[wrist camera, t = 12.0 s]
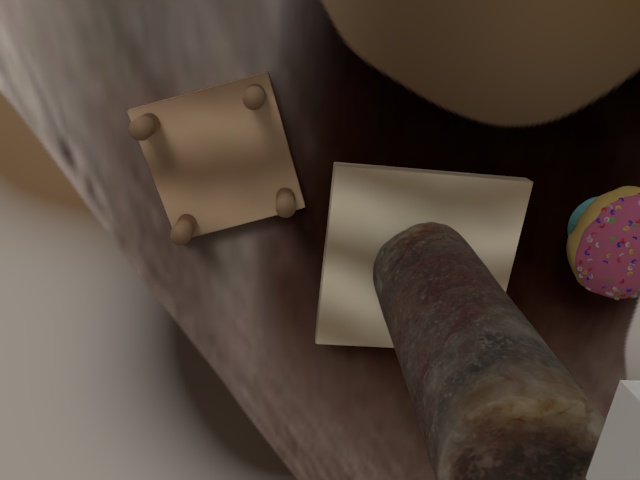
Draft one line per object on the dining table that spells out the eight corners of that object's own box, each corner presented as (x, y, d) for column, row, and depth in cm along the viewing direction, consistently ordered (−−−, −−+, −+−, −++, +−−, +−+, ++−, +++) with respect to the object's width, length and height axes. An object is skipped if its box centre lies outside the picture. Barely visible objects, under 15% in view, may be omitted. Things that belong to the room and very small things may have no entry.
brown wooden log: (391, 326, 41) (481, 572, 22) (349, 247, 38) (412, 450, 19) (483, 283, 40) (658, 501, 21) (447, 200, 37) (611, 364, 19)
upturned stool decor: (131, 108, 37) (114, 116, 34) (267, 71, 37) (266, 75, 33) (180, 235, 41) (169, 255, 37) (304, 202, 41) (306, 219, 37)
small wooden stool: (330, 153, 40) (335, 165, 36) (510, 168, 41) (533, 182, 37) (312, 317, 44) (315, 343, 41) (473, 326, 46) (490, 352, 42)
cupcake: (666, 217, 43) (799, 281, 32) (586, 290, 45) (686, 375, 34) (601, 151, 41) (720, 195, 30) (520, 232, 43) (603, 302, 32)
